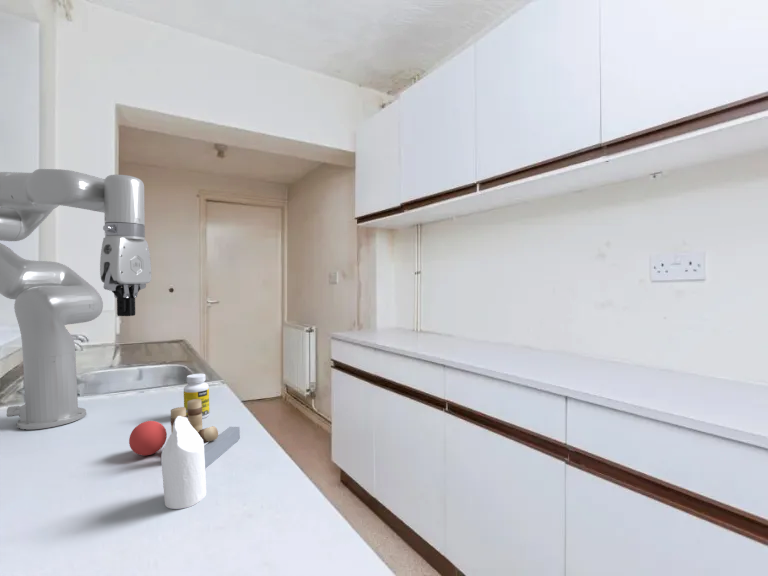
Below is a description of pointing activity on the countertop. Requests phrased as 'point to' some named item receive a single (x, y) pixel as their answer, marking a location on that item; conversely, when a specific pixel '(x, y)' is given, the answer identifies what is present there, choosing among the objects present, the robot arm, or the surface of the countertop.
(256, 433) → the countertop surface
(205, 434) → the pin front
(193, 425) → the pin
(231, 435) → the stopper wall
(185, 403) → the supplement bottle
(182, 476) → the white pointed column
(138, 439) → the ball
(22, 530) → the countertop surface
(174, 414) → the pin
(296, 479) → the countertop surface
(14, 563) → the countertop surface
